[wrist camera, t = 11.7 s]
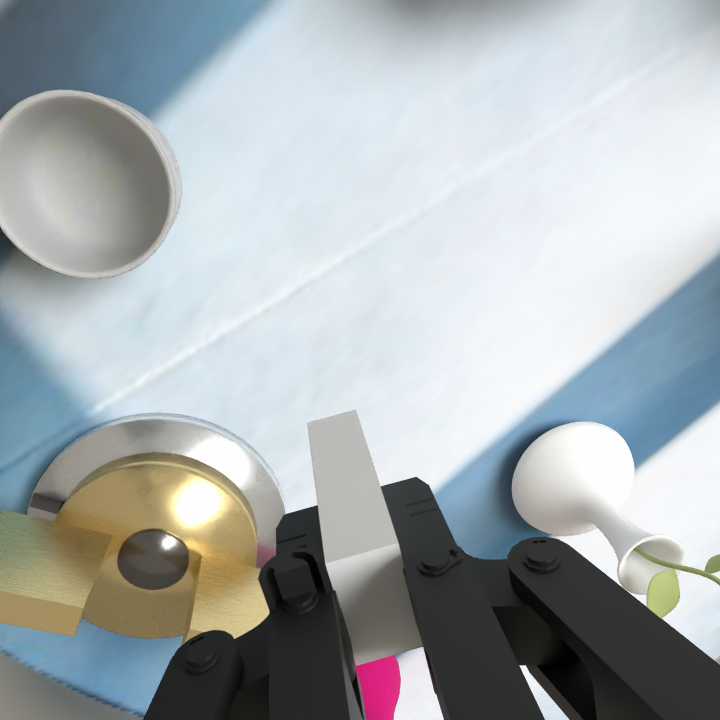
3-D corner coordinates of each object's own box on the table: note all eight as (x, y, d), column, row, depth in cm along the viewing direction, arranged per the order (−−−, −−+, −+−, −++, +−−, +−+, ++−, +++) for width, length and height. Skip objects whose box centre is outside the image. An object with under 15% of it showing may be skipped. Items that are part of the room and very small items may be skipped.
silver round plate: (-11, 566, 52) (-20, 579, 50) (106, 366, 47) (101, 374, 46) (210, 654, 58) (208, 668, 56) (332, 484, 53) (333, 494, 52)
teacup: (216, 152, 43) (205, 153, 36) (152, 284, 46) (128, 311, 38) (19, 39, 40) (-40, 13, 32) (-40, 189, 42) (-108, 198, 34)
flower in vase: (517, 538, 58) (683, 801, 35) (493, 437, 54) (662, 656, 31) (645, 495, 58) (895, 726, 35) (631, 391, 54) (901, 574, 31)
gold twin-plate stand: (110, 654, 54) (74, 767, 44) (-3, 499, 48) (-75, 591, 38) (303, 573, 54) (310, 668, 44) (215, 408, 48) (200, 475, 38)
